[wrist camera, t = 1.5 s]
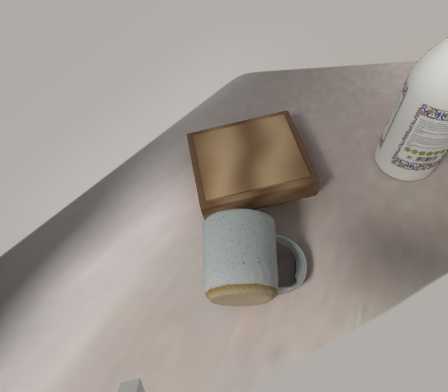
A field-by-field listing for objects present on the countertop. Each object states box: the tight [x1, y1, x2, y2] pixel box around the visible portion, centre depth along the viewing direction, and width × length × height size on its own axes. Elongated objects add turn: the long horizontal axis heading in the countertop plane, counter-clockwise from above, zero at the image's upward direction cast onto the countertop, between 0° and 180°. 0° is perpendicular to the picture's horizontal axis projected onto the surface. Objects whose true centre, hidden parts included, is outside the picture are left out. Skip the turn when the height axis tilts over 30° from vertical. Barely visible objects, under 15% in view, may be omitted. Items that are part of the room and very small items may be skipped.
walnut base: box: [187, 111, 320, 219], centre depth 40 cm, size 14×12×3 cm
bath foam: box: [375, 37, 448, 181], centre depth 31 cm, size 7×7×20 cm
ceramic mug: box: [203, 209, 307, 306], centre depth 31 cm, size 11×8×8 cm
